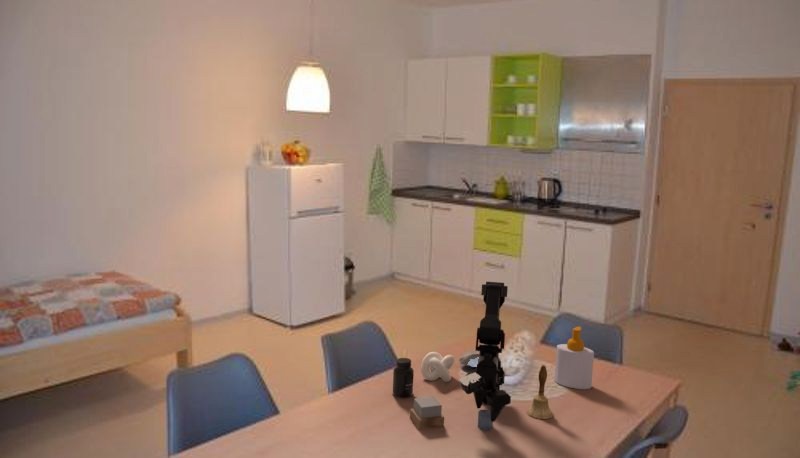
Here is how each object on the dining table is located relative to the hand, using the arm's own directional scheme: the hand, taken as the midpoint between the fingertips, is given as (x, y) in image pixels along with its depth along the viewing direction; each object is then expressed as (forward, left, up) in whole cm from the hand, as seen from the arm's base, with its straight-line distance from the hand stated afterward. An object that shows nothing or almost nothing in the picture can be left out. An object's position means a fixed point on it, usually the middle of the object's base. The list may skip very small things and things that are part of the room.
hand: (485, 414), depth 193 cm
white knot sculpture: (0, -38, -4) cm, 38 cm away
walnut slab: (+16, -8, -4) cm, 18 cm away
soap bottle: (-45, -20, -4) cm, 49 cm away
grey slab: (+16, -8, -1) cm, 18 cm away
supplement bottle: (+16, -29, -4) cm, 33 cm away
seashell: (-18, -45, -4) cm, 49 cm away
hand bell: (-21, -3, -4) cm, 22 cm away
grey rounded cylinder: (0, 0, -4) cm, 4 cm away
